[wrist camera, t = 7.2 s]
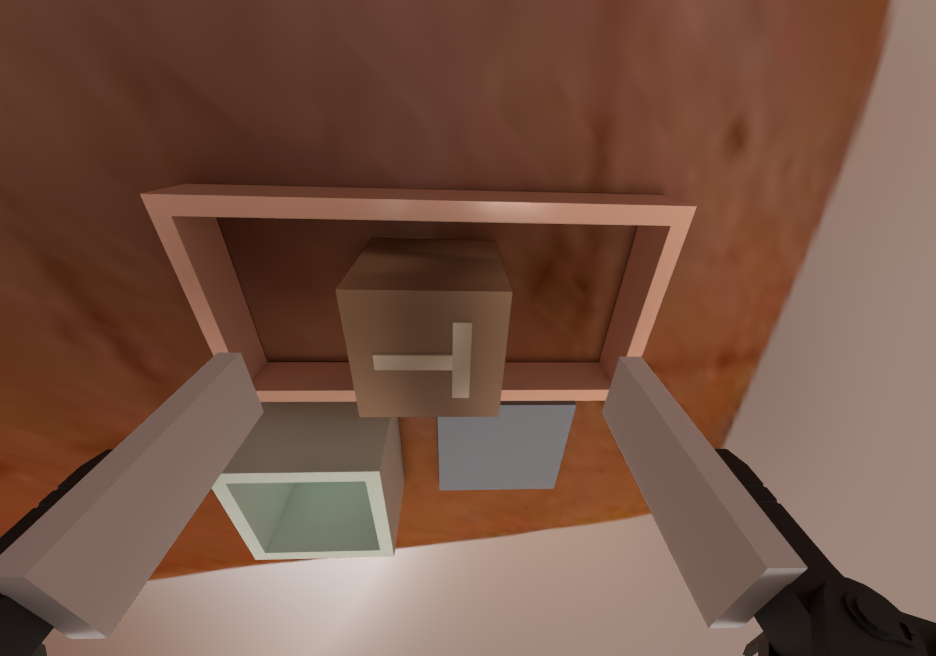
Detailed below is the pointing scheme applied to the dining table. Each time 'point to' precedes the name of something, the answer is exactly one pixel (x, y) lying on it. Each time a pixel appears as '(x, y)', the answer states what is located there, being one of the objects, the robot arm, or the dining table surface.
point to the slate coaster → (505, 447)
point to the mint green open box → (316, 483)
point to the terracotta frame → (220, 295)
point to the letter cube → (426, 327)
